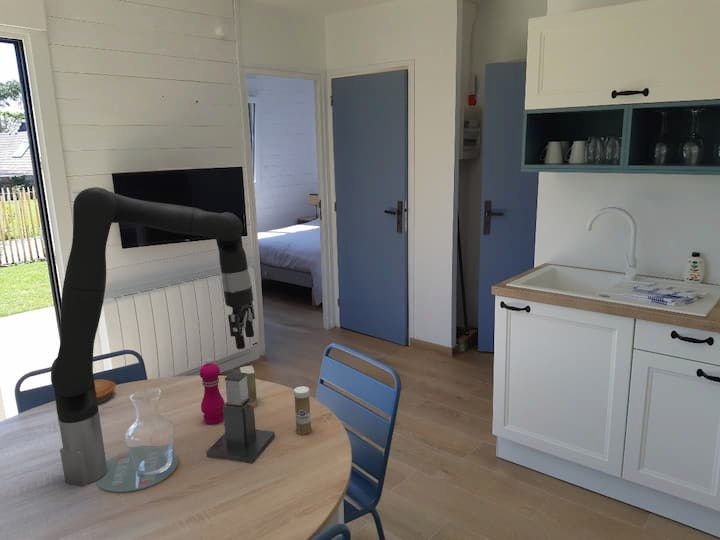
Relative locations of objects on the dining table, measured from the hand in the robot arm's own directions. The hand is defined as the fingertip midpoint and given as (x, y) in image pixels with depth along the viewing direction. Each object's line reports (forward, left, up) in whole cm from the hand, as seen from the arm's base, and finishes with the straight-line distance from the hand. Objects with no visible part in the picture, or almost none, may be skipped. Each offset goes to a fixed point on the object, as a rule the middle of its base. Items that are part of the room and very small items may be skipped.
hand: (245, 342), depth 151 cm
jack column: (-4, +1, -28) cm, 28 cm away
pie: (+11, +66, -30) cm, 74 cm away
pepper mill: (+8, +17, -30) cm, 35 cm away
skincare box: (+20, +11, -30) cm, 38 cm away
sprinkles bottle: (+8, -13, -30) cm, 33 cm away
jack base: (-4, +1, -30) cm, 30 cm away
